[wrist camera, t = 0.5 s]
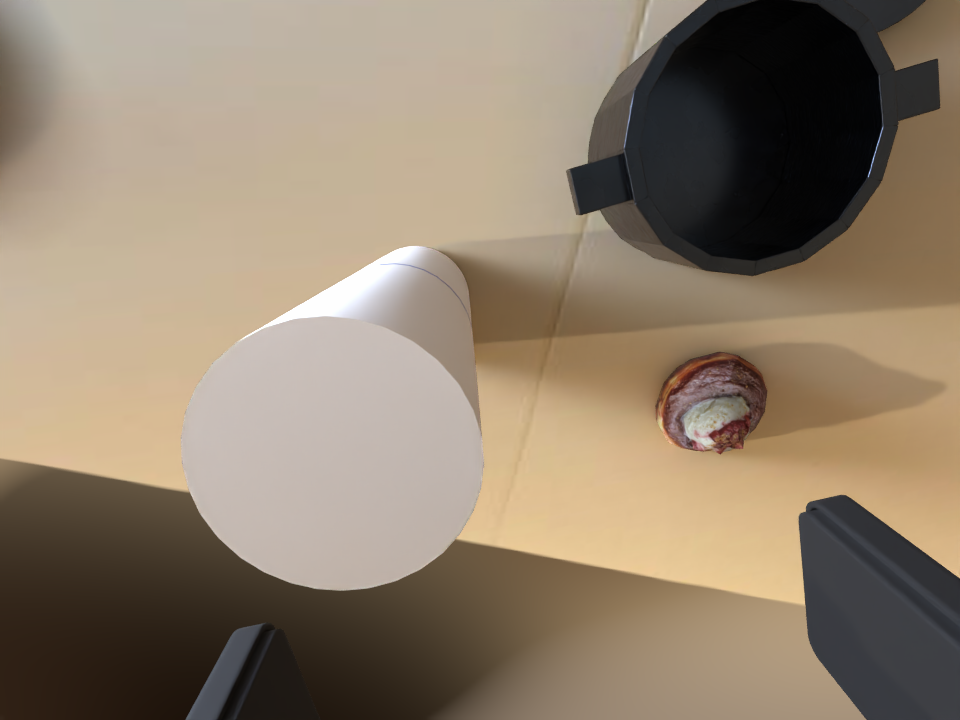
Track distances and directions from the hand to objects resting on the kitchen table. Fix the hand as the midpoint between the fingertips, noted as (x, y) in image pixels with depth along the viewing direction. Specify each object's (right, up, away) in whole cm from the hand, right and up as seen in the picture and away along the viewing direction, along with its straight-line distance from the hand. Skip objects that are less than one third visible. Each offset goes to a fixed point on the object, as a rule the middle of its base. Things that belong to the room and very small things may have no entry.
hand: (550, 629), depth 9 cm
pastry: (+15, +2, +30) cm, 34 cm away
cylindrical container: (-6, +9, +28) cm, 29 cm away
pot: (+13, +18, +25) cm, 34 cm away
